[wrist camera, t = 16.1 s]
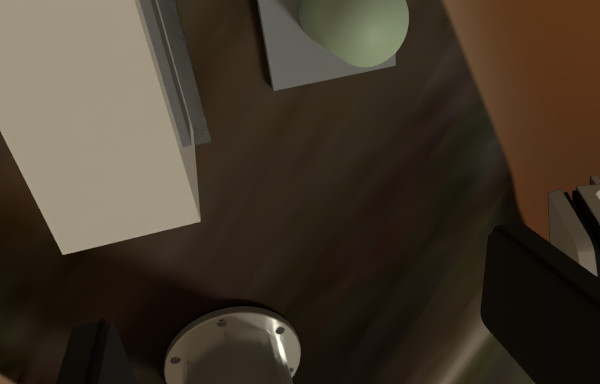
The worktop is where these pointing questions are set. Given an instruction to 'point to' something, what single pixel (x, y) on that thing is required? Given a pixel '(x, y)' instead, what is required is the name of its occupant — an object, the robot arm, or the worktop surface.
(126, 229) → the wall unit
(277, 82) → the slate mat
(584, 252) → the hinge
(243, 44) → the worktop surface
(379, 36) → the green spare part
